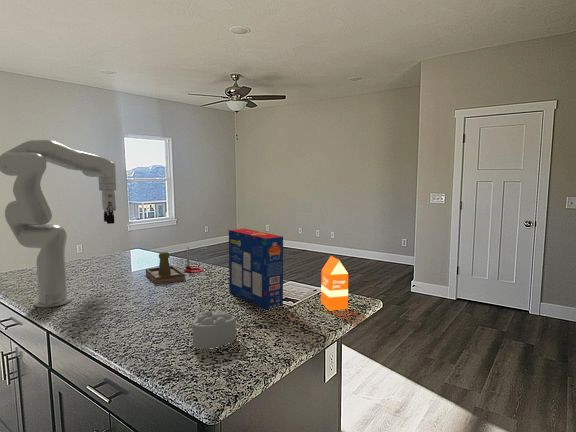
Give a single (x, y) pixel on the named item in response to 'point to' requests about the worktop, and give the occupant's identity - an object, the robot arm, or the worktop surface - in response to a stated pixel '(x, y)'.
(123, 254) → the worktop surface
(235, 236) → the pasta box
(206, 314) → the lumpy-topped squat cylinder
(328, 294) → the orange juice
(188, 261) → the tow hook
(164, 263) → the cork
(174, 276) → the walnut tray
